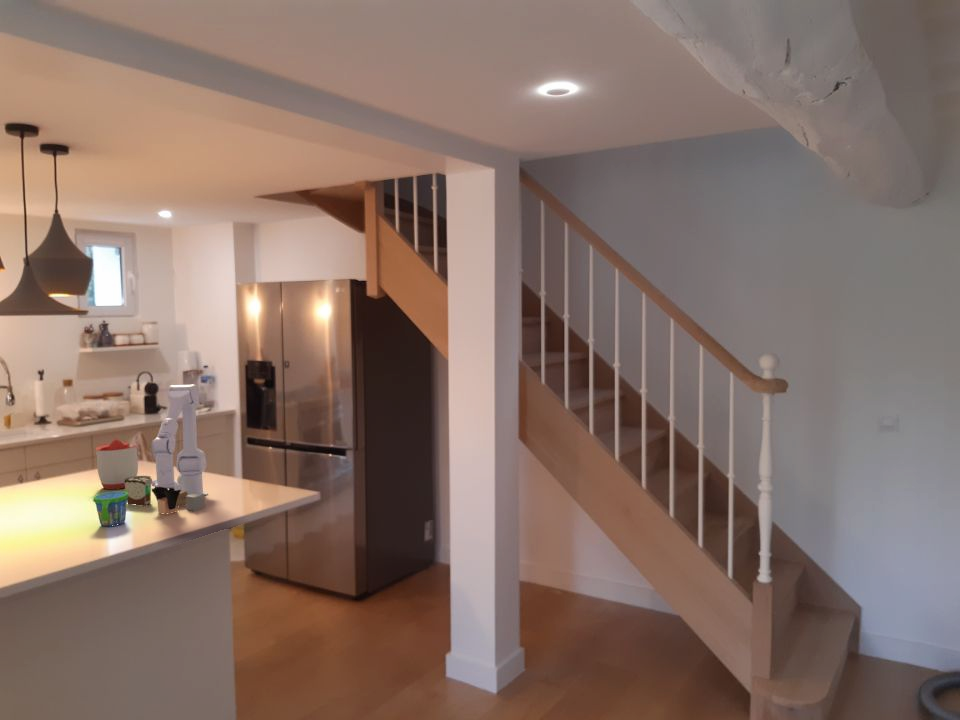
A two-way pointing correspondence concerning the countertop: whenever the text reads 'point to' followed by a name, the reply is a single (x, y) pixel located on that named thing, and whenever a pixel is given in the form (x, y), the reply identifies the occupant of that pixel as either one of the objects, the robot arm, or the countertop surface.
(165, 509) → the terracotta block
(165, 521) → the countertop surface
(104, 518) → the snack cup
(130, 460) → the citrus juicer
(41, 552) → the countertop surface
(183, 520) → the countertop surface
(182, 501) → the walnut block
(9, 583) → the countertop surface
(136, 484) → the food container
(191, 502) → the slate block
